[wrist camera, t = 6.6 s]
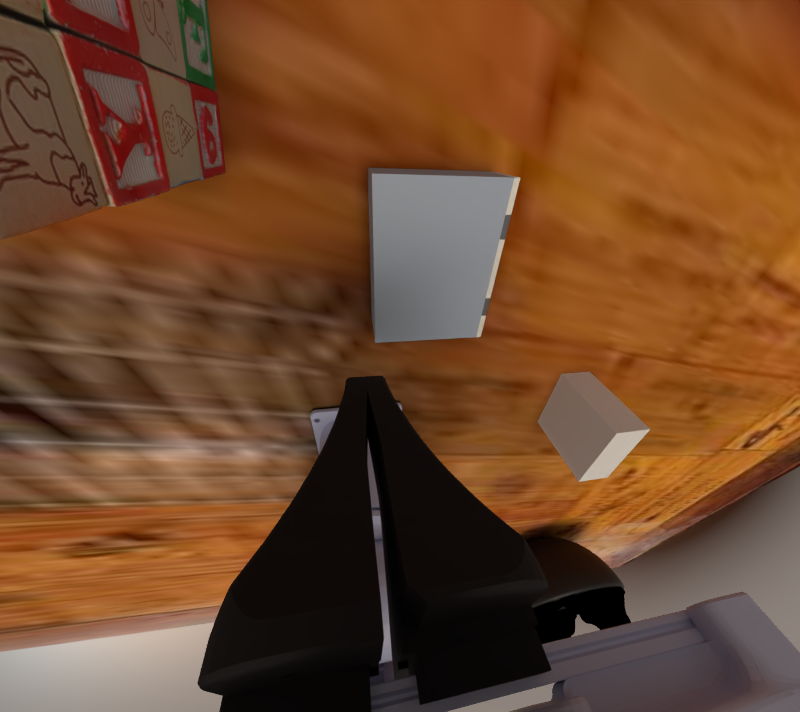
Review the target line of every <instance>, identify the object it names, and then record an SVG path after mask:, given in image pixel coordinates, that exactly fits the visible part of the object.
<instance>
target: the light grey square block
mask: <svg viewBox="0 0 800 712" xmlns="http://www.w3.org/2000/svg"><path fill="white" fill-rule="evenodd" d="M537 422H538V423H539V425H540V426H541V428H542V429H543V431H544V432H545V434H546V435H547V437H548V438H549V439H550V441H551V442H552V444H553V445H554V447H555V448H556V450H557V451H558V453H559V454H560V455H561V457H562V458H563V460H564V461H565V463H566V464H567V466H568V467H569V468H570V470H571V471H572V473H573V474H574V476H575V477H576V479H577V480H578V482H579V481H586V480H592V479H599V478H606V477H608V476H609V475H610V474H611V473H612V471H613V470H614V469H615V468H616V467H617V466H618V465H619V464H620V462H621V461H622V460H623V459H624V458H625V457H626V456H627V455H628V454H629V452H630V451H631V450H632V449H633V448H634V447H635V446H636V445H637V444H638V442H639V441H640V440H641V439H642V438H643V437H644V436H645V435H646V434H647V432H648V431H649V430H650V428H649V427H647V426H646V425H645V424H644V423H643V422H642V421H641V420H640V419H639V418H638V417H637V416H636V415H635V414H634V413H633V412H632V411H631V410H630V409H628V408H627V407H626V406H625V405H624V404H623V403H622V402H621V401H620V400H619V399H618V398H617V397H616V396H615V395H614V394H613V393H612V392H610V391H609V390H608V389H607V388H606V387H605V386H604V385H603V384H602V383H601V382H600V381H599V380H598V379H597V378H596V377H595V376H594V375H592V374H591V373H590V372H579V373H567V374H561V376H560V378H559V380H558V382H557V384H556V386H555V388H554V390H553V392H552V394H551V396H550V398H549V400H548V402H547V404H546V406H545V408H544V410H543V412H542V414H541V416H540V418H539V419H538V421H537Z"/></svg>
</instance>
